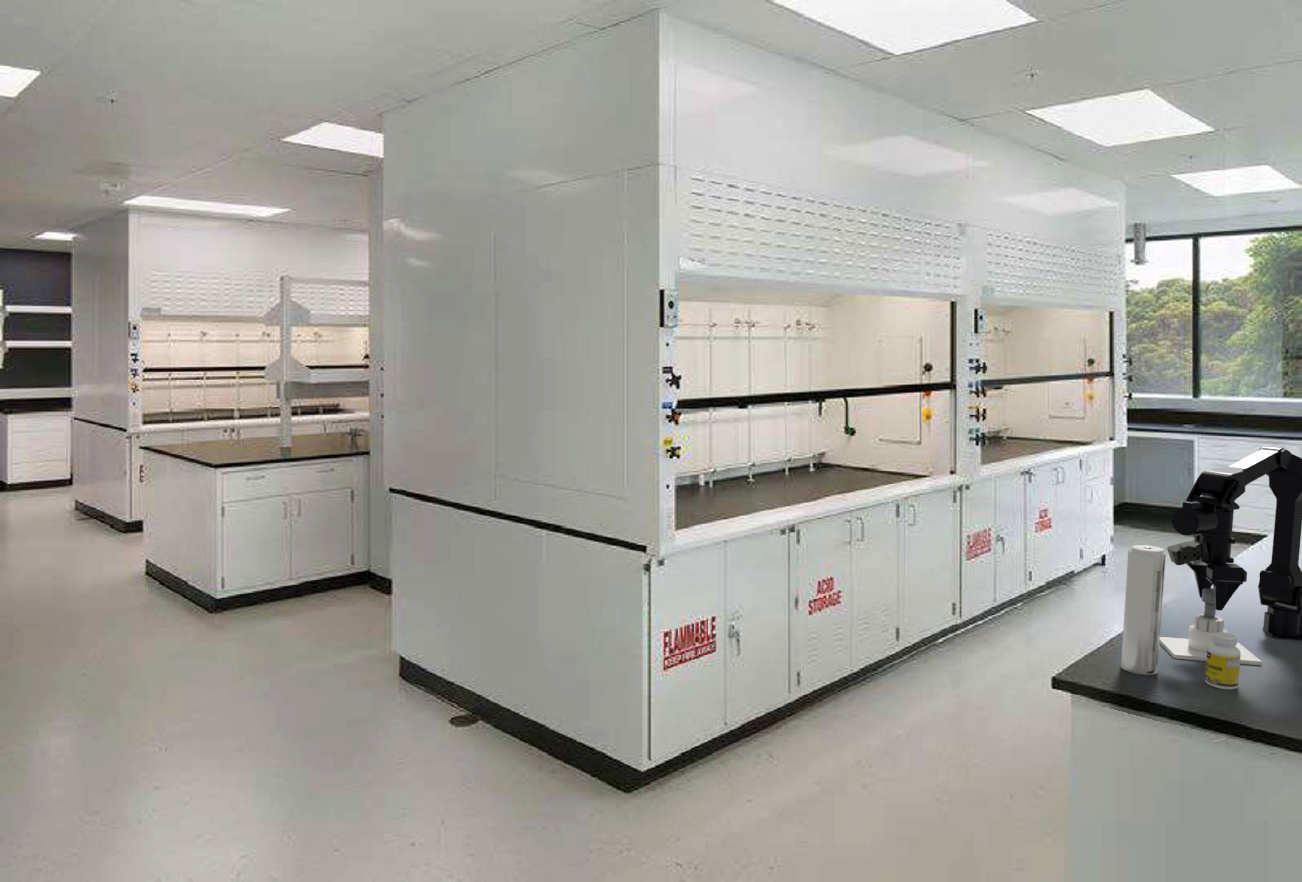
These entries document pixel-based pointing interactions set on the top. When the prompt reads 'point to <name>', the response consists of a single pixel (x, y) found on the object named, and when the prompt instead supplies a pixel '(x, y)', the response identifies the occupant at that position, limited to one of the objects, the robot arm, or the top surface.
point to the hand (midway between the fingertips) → (1210, 603)
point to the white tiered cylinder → (1204, 632)
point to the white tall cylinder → (1143, 609)
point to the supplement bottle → (1223, 662)
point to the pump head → (1208, 602)
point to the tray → (1182, 651)
